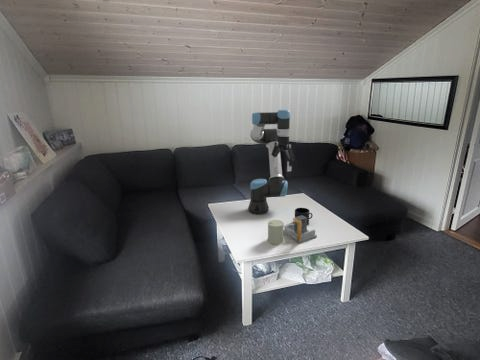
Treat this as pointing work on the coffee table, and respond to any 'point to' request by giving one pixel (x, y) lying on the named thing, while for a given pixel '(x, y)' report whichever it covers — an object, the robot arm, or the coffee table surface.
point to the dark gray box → (304, 224)
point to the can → (275, 232)
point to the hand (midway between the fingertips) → (282, 168)
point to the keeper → (298, 232)
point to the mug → (303, 213)
